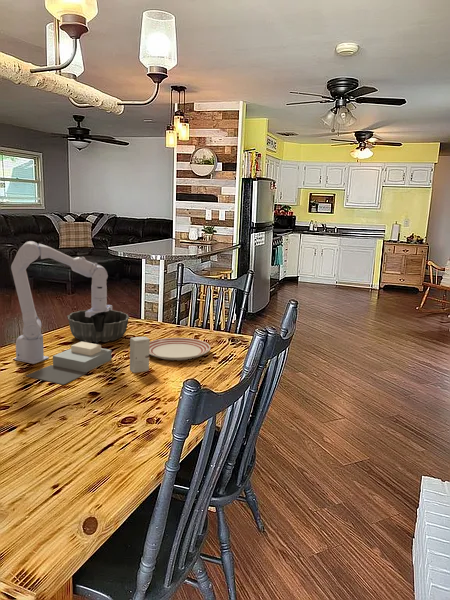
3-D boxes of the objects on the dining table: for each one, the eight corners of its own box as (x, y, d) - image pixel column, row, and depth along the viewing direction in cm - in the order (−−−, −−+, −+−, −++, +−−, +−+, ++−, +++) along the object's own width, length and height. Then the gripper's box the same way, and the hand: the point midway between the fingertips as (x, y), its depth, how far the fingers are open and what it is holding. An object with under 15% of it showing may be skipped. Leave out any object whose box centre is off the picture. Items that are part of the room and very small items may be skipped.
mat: (25, 376, 159) (25, 375, 159) (50, 365, 170) (50, 365, 170) (63, 385, 153) (63, 384, 153) (86, 373, 164) (86, 372, 164)
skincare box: (133, 373, 167) (134, 340, 164) (129, 369, 170) (129, 337, 168) (149, 370, 170) (150, 338, 168) (144, 366, 174) (145, 335, 171)
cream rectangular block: (71, 351, 174) (71, 345, 174) (81, 347, 180) (81, 341, 179) (91, 355, 171) (91, 349, 171) (101, 351, 177) (101, 345, 176)
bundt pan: (138, 333, 217) (138, 312, 215) (112, 349, 192) (112, 326, 190) (87, 327, 222) (86, 306, 220) (55, 342, 197) (54, 319, 195)
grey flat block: (53, 366, 170) (52, 355, 169) (81, 354, 184) (81, 344, 183) (84, 373, 165) (84, 362, 164) (111, 359, 179) (111, 350, 178)
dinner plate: (129, 357, 184) (129, 349, 183) (164, 340, 209) (164, 333, 208) (192, 369, 174) (192, 361, 173) (220, 350, 199) (220, 342, 198)
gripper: (96, 301, 171) (96, 337, 173) (118, 295, 184) (118, 328, 187) (80, 299, 173) (80, 334, 176) (103, 293, 186) (104, 326, 189)
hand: (99, 331), depth 181 cm, fingers closed
